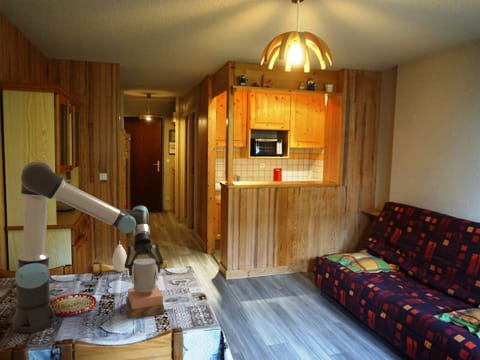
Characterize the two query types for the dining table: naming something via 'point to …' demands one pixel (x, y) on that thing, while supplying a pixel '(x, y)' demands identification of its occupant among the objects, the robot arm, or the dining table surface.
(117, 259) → the cream ovoid candle
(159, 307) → the tower base
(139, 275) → the grey cylinder
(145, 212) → the robot arm
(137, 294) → the brown square block
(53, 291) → the dining table surface
